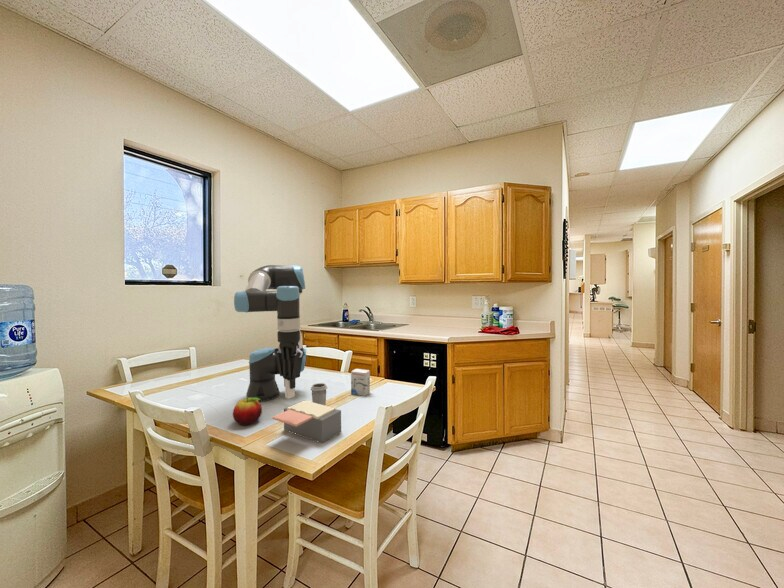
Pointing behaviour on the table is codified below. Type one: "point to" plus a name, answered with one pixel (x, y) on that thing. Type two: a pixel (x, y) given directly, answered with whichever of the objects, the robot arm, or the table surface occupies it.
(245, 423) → the fruit
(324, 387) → the cup
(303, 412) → the block
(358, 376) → the ink box
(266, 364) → the robot arm
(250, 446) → the table surface
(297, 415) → the pink rectangular panel
